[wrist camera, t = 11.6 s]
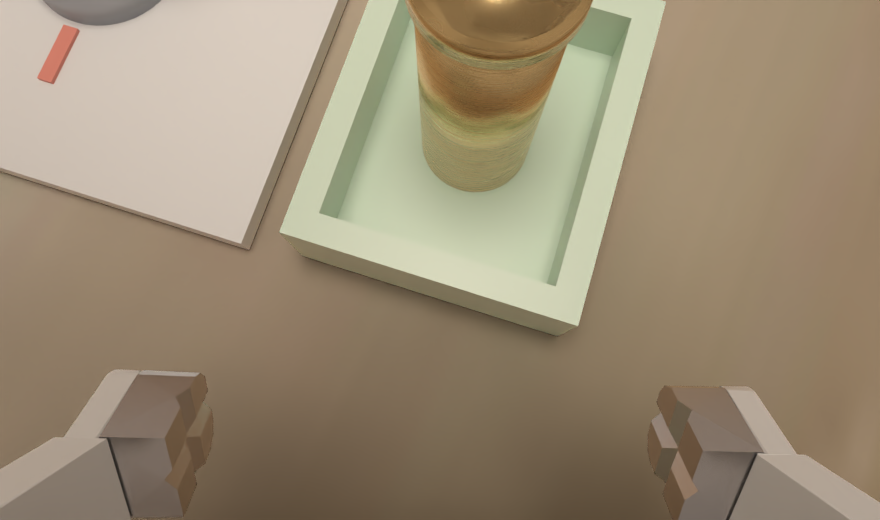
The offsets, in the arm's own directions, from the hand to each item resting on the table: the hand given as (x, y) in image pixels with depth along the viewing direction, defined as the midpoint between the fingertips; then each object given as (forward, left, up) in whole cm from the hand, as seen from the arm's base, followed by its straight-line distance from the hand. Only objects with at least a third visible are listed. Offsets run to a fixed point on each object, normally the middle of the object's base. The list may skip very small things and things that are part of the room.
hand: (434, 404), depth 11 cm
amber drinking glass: (-2, +10, -10) cm, 14 cm away
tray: (-2, +10, -11) cm, 15 cm away
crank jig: (-15, +9, -11) cm, 21 cm away
